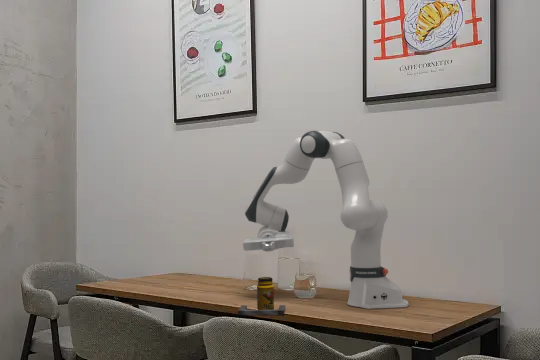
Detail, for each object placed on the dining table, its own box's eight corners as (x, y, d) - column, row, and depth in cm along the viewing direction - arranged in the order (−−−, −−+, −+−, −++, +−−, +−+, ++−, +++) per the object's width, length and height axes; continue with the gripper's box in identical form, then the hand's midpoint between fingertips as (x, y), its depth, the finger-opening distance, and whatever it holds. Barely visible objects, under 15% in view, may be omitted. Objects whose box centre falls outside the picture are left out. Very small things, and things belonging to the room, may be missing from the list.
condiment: (273, 313, 220) (273, 279, 221) (250, 312, 222) (249, 279, 222) (276, 309, 228) (275, 276, 228) (253, 309, 229) (253, 276, 229)
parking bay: (285, 309, 226) (285, 305, 226) (283, 315, 216) (283, 310, 216) (241, 309, 228) (241, 305, 228) (238, 315, 218) (238, 310, 218)
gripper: (242, 234, 255) (241, 241, 242) (291, 230, 255) (293, 236, 242) (243, 249, 256) (242, 257, 242) (293, 245, 256) (295, 252, 242)
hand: (268, 247), depth 242 cm, fingers closed
